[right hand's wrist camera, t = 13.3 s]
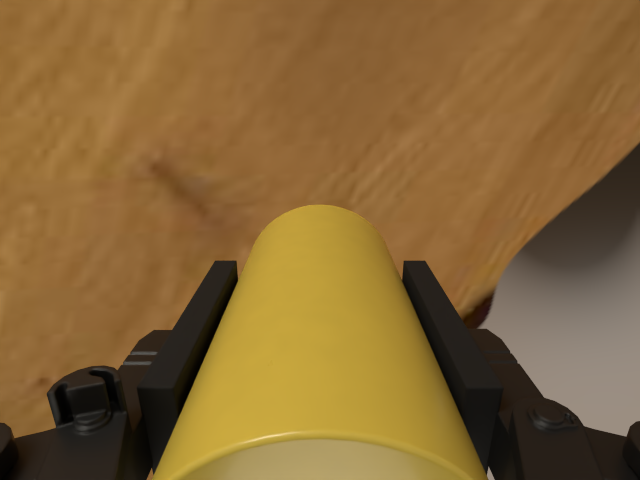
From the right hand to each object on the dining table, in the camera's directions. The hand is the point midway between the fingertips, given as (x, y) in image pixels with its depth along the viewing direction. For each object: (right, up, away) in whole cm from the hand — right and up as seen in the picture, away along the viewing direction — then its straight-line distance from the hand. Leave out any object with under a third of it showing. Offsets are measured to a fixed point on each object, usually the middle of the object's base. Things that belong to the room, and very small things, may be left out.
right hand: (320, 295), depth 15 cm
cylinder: (0, +1, +2) cm, 2 cm away
